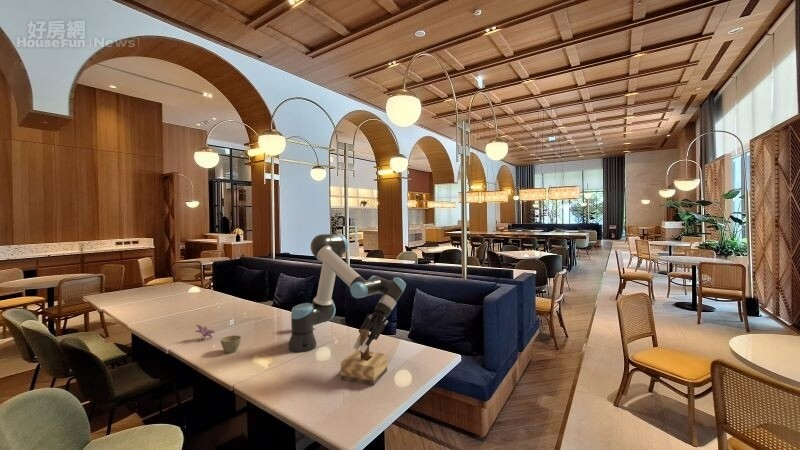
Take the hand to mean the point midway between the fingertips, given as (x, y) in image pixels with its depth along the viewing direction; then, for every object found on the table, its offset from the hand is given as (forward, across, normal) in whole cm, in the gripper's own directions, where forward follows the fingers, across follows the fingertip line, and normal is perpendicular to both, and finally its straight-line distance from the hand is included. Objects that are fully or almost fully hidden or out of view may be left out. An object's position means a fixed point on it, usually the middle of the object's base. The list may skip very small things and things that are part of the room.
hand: (358, 349), depth 152 cm
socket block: (+6, 0, -12) cm, 13 cm away
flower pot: (+29, +74, +12) cm, 81 cm away
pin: (0, 0, -6) cm, 6 cm away
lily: (+33, +105, +15) cm, 111 cm away
